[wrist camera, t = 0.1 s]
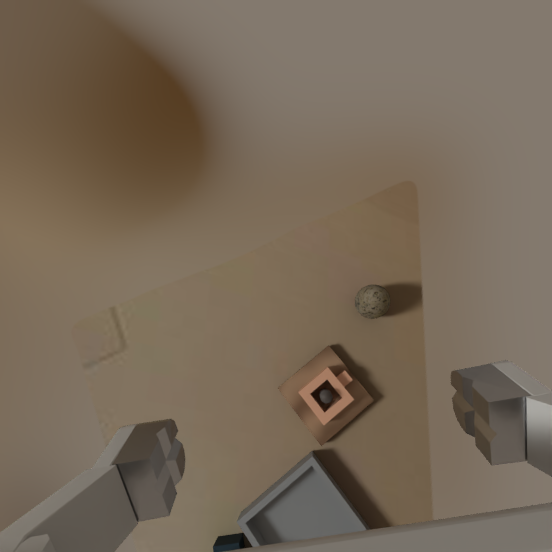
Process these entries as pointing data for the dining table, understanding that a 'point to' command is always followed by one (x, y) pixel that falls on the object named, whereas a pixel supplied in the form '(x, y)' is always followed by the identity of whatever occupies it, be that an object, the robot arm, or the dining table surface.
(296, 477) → the tray
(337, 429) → the base
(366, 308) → the decorative egg
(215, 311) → the dining table surface
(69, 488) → the robot arm
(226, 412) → the dining table surface
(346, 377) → the ring
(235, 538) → the watch
